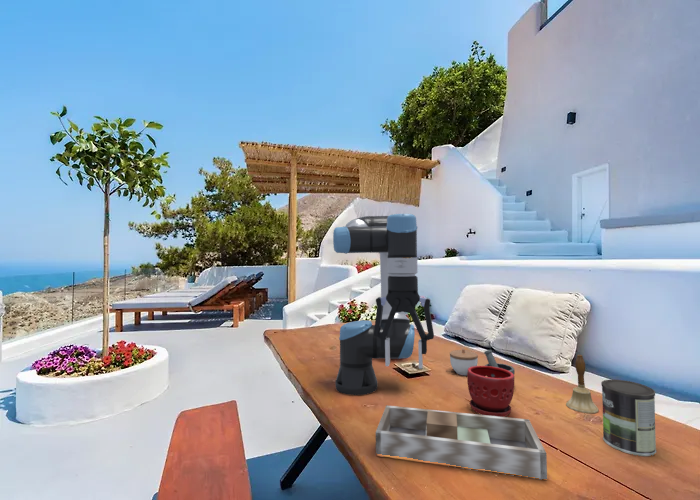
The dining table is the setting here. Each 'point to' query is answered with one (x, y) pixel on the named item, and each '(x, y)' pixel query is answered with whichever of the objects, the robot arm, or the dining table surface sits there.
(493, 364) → the mortar and pestle
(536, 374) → the dining table surface
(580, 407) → the hand bell
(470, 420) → the box
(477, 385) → the plant pot
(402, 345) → the robot arm
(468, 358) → the lidded jar
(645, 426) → the coffee can
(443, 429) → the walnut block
